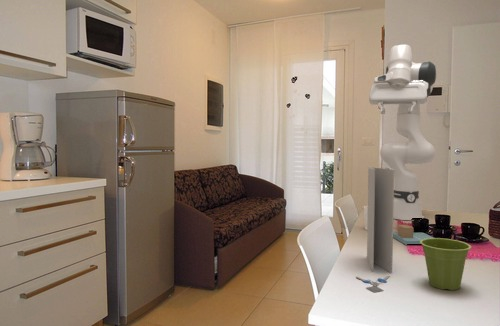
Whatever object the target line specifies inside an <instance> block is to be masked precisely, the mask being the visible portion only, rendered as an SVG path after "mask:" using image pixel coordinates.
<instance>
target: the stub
mask: <svg viewBox="0 0 500 326" xmlns="http://www.w3.org/2000/svg"><path fill="white" fill-rule="evenodd" d="M413 233H414V227H413V226H411V225H410V224H397V231H393V239H395V240H397V241H399V242H400V243H402V244H404V245H405V246H408V245H407V244H421V243H420V241H421V240H419V239H417V238H416V237H414V236H413Z"/></svg>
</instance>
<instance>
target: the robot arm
mask: <svg viewBox="0 0 500 326" xmlns="http://www.w3.org/2000/svg"><path fill="white" fill-rule="evenodd" d="M412 51H413V50H412V47H411V46H410V45H409V44H405V43H402V44H401V43H400V44H395V45H394V46H392V47H391V48H390V51H389V54H388V59H387V66H386V67H385V74H382V75H378V76H376V77H374V79H373V80H374V81H373V84H372V85H371V88H370V91H369V96H368V102H369V104H370V105H371V106H372V105H374V106H375V105H378V109H380V114H381V115H385V114H386V108H385V107H383V106H384V105H398V106H397V114H396V131H397V133H398V134H399V135H401V136H403V137H405V138H406V139H408V141H393V142H387V143H384V144H383V145H382V146H381V148H380V149H379V150H380V151H379V154H380V158H381V159H382V161H383V162H384V163H386V164H387V165H388V167H389V168H390V169H393V170H394V209H393V220H394V219H395V220H401V221H412V220H411V219H412V218H422V219H425V215H423V213H422V202H421V201H420V200H419V198H420V191H419V176H418V175H417V173H416V172H414V171H412V170H410V169H409V168H407V167H406V164H409V165H411V164H415V165H416V164H418V165H419V164H420V165H422V164H427V163H431V162H432V161H433V160H434V159H435V156H436V148H435V146H434V145H433V144H432V143H431V142H429V141H428V140H426V138H425V137H424V135H423V134H422V131H421V107H420V105H424V104H426V102H427V100H428V98H429V96H430V95H431V93H432V91H433V88H434V84H435V83H436V80H437V78H438V77H437V76H438V70H437V66H436V65H435V64H434V63H433V62H431V61H424V62H418V63H417V62H414V61H413V52H412Z"/></svg>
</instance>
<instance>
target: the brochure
mask: <svg viewBox="0 0 500 326" xmlns="http://www.w3.org/2000/svg"><path fill="white" fill-rule="evenodd" d="M367 167H368V168H367V169H368V171H367V206H368V221H367V230H366V233H367V234H366V237H367V238H366V239H367V241H366V244H367V245H366V259H367V261H368V264H369V266H370V270H371V273H374V264H376V265H377V266H379V267H381V268H382V269H384V270H385V271H387V272H389V273H390V274H393V255H394V254H393V253H394V251H393V250H394V247H393V246H394V237H393V232H394V219H393V209H394V190H395V182H394V170H393V169H391V167H387V166H385V167H384V168H383V167H382V168H381V167H372V166H367Z"/></svg>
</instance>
